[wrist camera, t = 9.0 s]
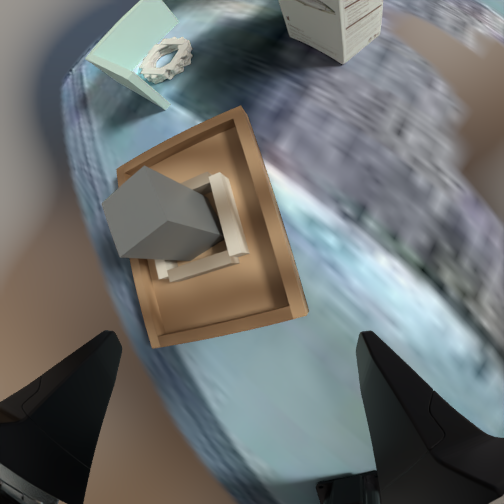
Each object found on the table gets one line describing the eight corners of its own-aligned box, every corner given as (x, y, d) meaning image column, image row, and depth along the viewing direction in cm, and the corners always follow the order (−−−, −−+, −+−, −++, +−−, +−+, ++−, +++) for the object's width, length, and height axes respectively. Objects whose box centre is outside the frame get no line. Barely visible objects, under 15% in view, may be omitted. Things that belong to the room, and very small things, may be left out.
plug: (228, 236, 23) (167, 220, 15) (190, 260, 24) (119, 257, 16) (207, 197, 24) (144, 165, 16) (172, 222, 25) (101, 203, 16)
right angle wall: (168, 112, 27) (127, 79, 20) (120, 84, 30) (85, 58, 23) (236, 38, 26) (212, -4, 19) (176, 23, 29) (150, -9, 22)
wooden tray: (308, 311, 22) (305, 317, 19) (164, 343, 25) (148, 350, 23) (247, 116, 24) (238, 102, 22) (128, 173, 28) (112, 167, 25)
